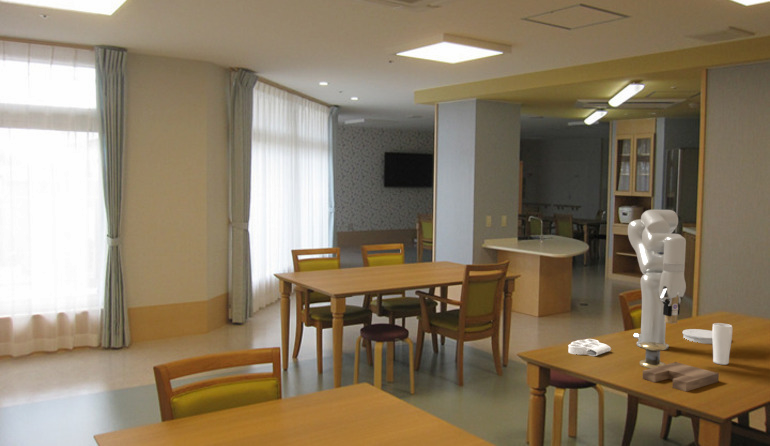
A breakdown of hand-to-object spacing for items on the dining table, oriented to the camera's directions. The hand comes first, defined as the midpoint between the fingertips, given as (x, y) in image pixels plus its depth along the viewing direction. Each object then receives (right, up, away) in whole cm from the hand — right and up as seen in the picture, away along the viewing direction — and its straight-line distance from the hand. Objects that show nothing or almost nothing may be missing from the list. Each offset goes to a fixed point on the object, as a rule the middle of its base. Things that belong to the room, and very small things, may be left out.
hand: (671, 314), depth 238 cm
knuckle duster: (-27, -18, +16) cm, 36 cm away
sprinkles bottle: (0, -4, 0) cm, 4 cm away
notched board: (-7, -20, -22) cm, 31 cm away
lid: (+33, -17, +38) cm, 53 cm away
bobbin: (-9, -19, -5) cm, 21 cm away
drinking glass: (+19, -19, 0) cm, 27 cm away
